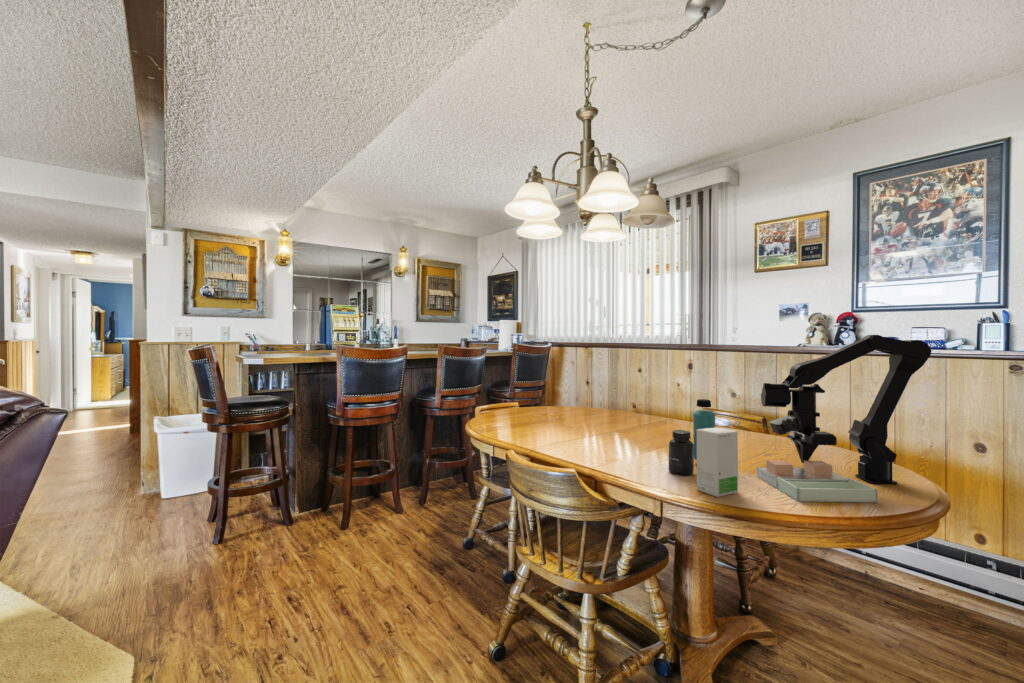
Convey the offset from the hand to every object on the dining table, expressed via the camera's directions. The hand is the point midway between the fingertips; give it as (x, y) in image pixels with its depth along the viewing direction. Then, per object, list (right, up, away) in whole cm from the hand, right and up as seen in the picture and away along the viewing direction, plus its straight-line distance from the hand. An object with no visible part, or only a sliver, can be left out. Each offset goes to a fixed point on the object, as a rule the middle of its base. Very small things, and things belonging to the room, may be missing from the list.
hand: (804, 463), depth 122 cm
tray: (-6, -3, -16) cm, 18 cm away
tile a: (0, -1, -6) cm, 6 cm away
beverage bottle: (-23, -4, +11) cm, 26 cm away
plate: (-5, -3, -7) cm, 9 cm away
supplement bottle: (-34, -4, +2) cm, 34 cm away
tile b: (-10, -1, -5) cm, 12 cm away
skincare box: (-31, -4, -13) cm, 34 cm away
